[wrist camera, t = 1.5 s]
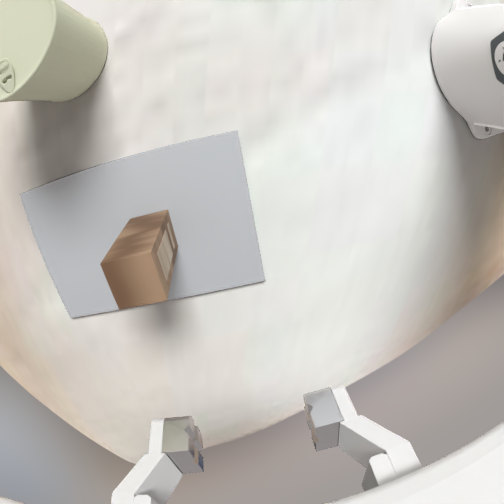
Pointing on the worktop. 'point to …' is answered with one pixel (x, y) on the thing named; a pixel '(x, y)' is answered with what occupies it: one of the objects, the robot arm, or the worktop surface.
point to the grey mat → (146, 202)
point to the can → (48, 51)
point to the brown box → (142, 261)
